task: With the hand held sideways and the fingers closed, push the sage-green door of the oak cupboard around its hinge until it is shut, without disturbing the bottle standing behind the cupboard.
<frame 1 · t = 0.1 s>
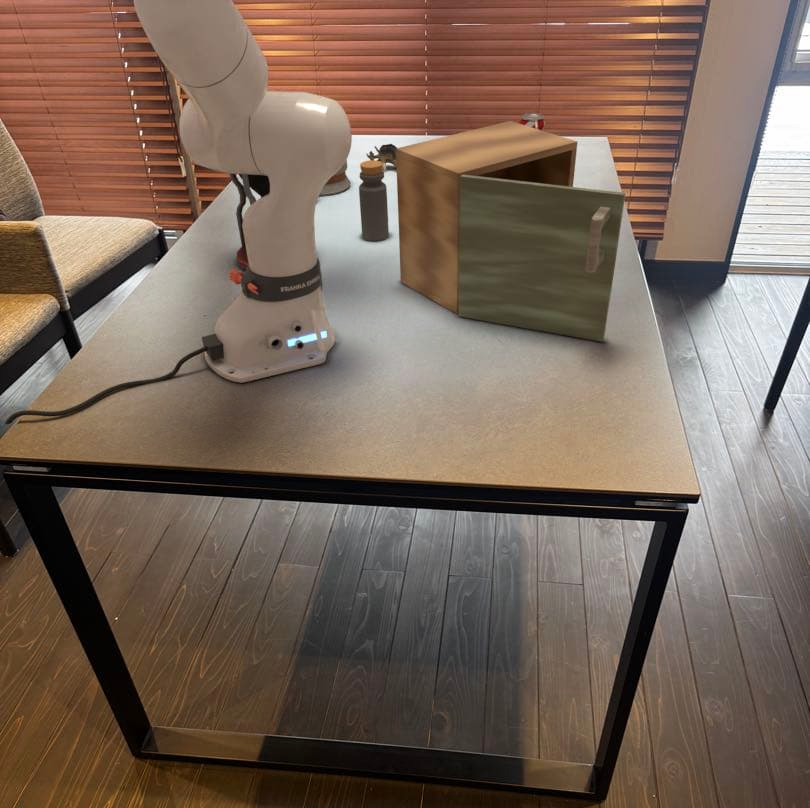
mug: (320, 191, 197), on the table
eagle figurine: (387, 170, 208), on the table
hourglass: (276, 259, 166), on the table
soda can: (529, 167, 205), on the table
door: (528, 267, 129), point 12 cm above the table, hinge at 60.0°
bottle: (375, 237, 173), on the table
cupboard: (482, 279, 155), on the table
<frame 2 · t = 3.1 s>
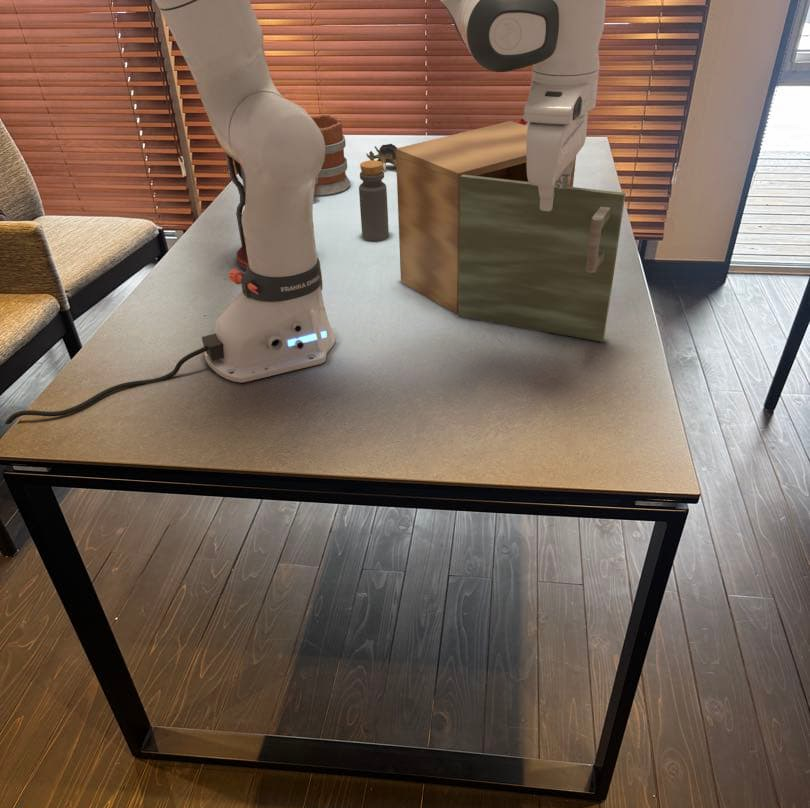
hand: (555, 198, 116), 25 cm above the table, tool pointing down, fingers open, 8 cm apart
nothing on the table moved.
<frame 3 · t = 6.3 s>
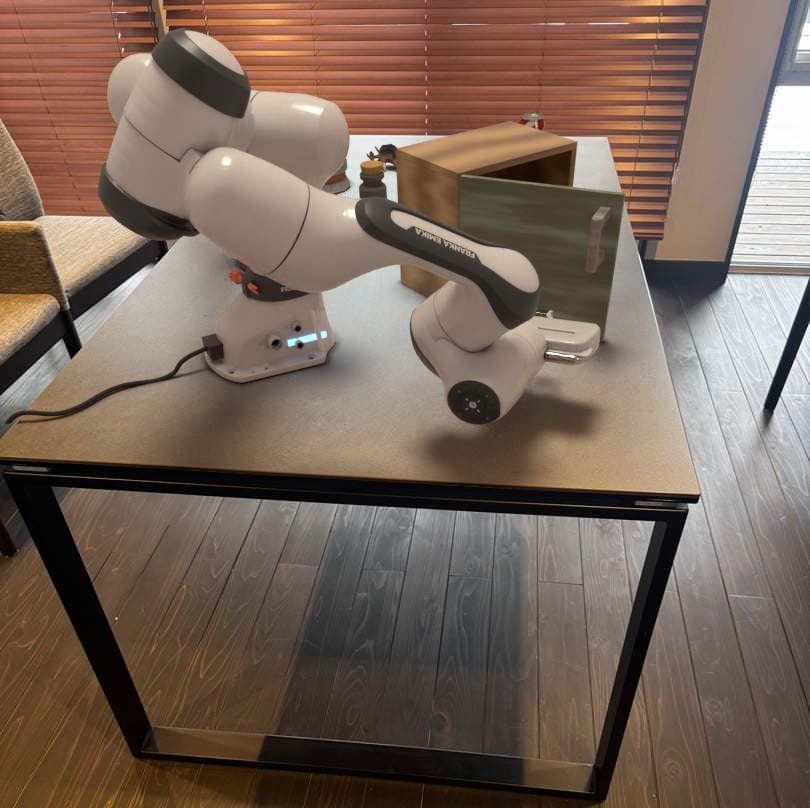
hand: (544, 314, 121), 10 cm above the table, tool horizontal, fingers closed
nothing on the table moved.
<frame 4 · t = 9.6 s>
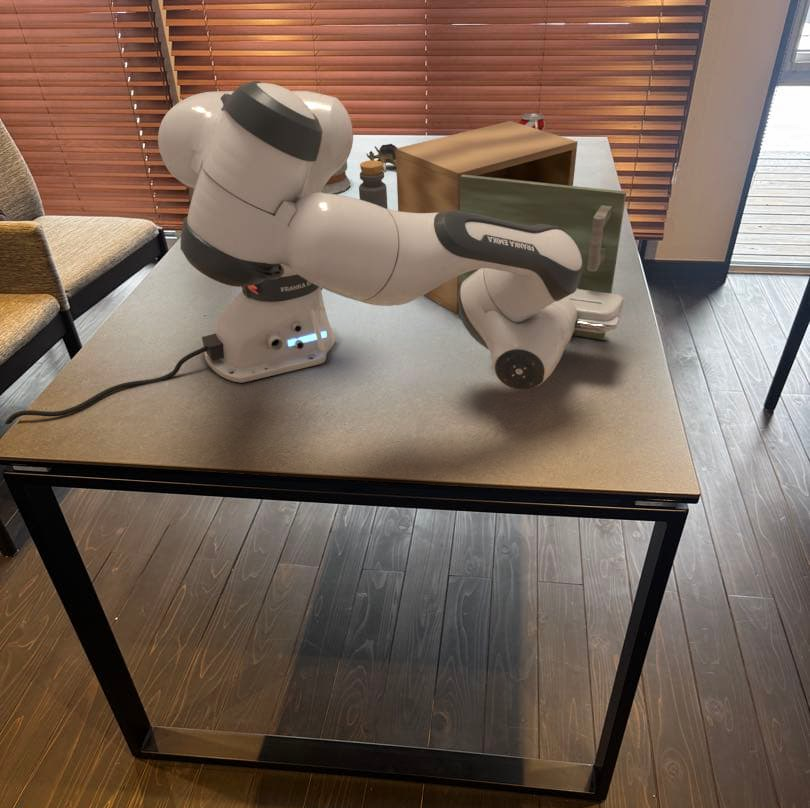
hand: (567, 284, 131), 9 cm above the table, tool horizontal, fingers closed
door: (529, 266, 129), point 12 cm above the table, hinge at 58.6°, touching gripper
everything else where it was.
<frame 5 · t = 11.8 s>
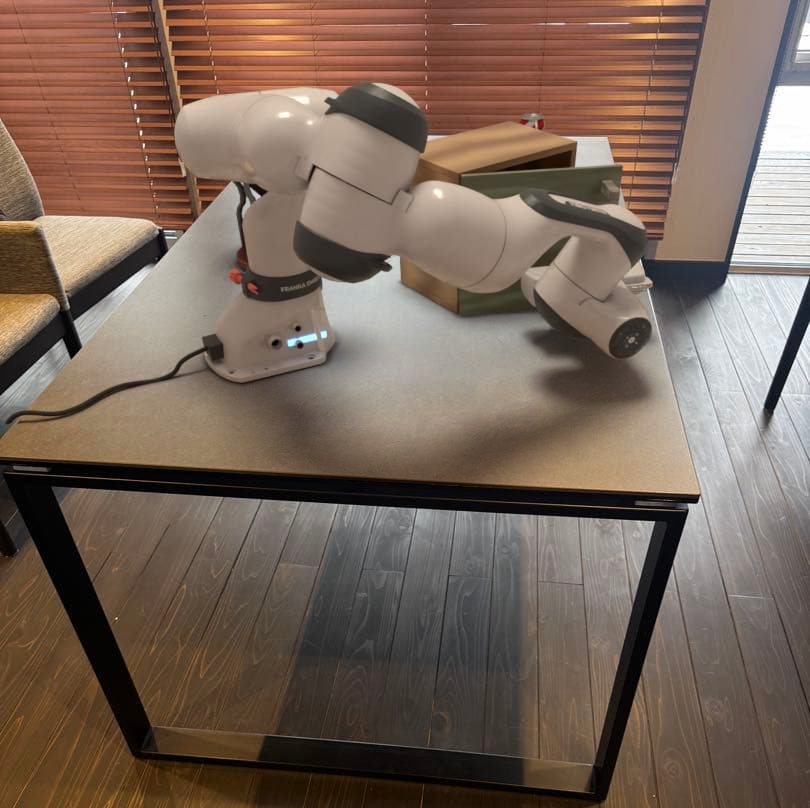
hand: (568, 261, 138), 9 cm above the table, tool horizontal, fingers closed
door: (540, 250, 134), point 12 cm above the table, hinge at 29.8°, touching gripper
everything else where it was.
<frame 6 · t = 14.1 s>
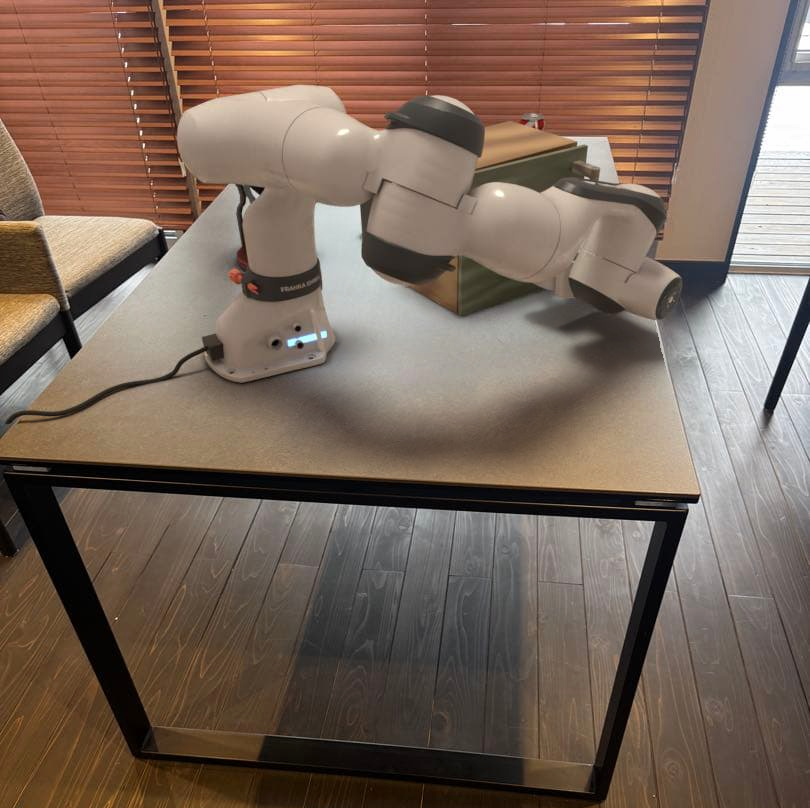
hand: (545, 243, 144), 9 cm above the table, tool horizontal, fingers closed
door: (531, 236, 138), point 12 cm above the table, hinge at 3.0°, touching gripper
everything else where it was.
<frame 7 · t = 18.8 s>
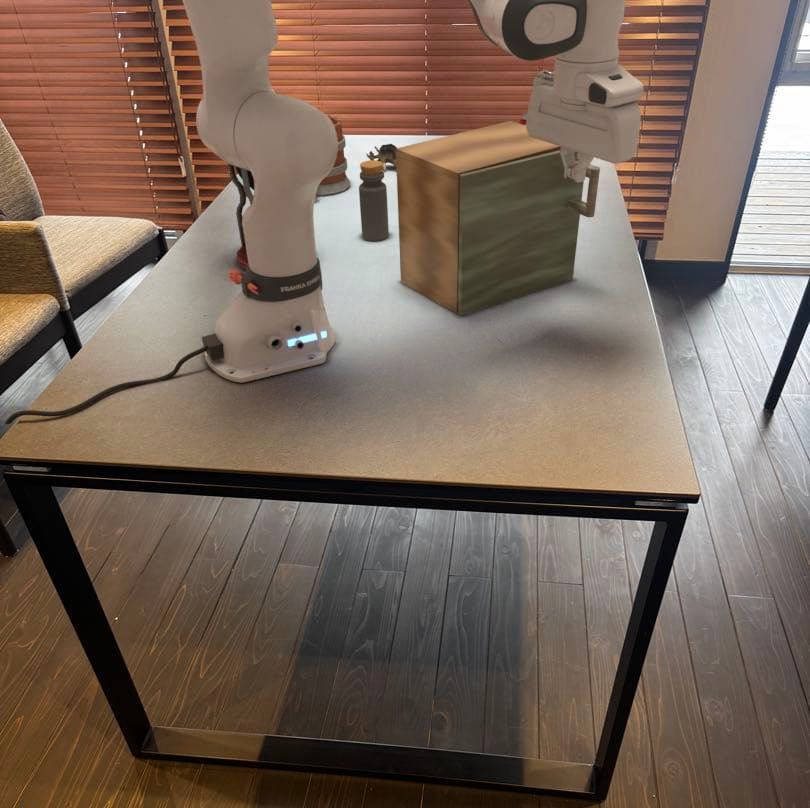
hand: (574, 179, 123), 24 cm above the table, tool pointing down, fingers closed
door: (531, 236, 138), point 12 cm above the table, hinge at 2.9°
everything else where it was.
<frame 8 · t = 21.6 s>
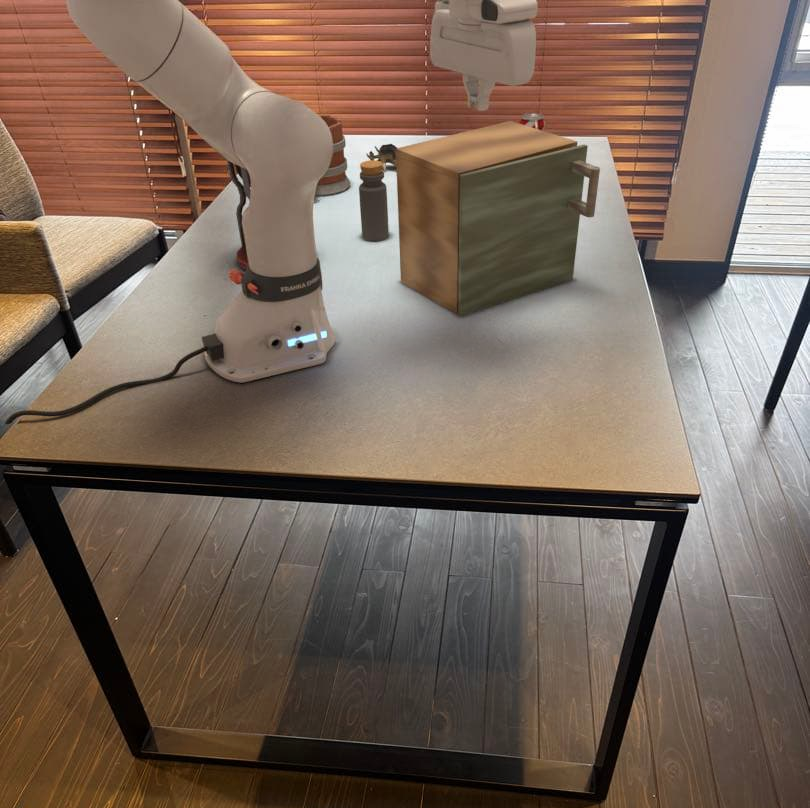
hand: (478, 108, 120), 34 cm above the table, tool pointing down, fingers closed
nothing on the table moved.
at the end: door at +3° (first picture: +60°); door touching nothing; bottle moved 0.2 cm from its start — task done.
